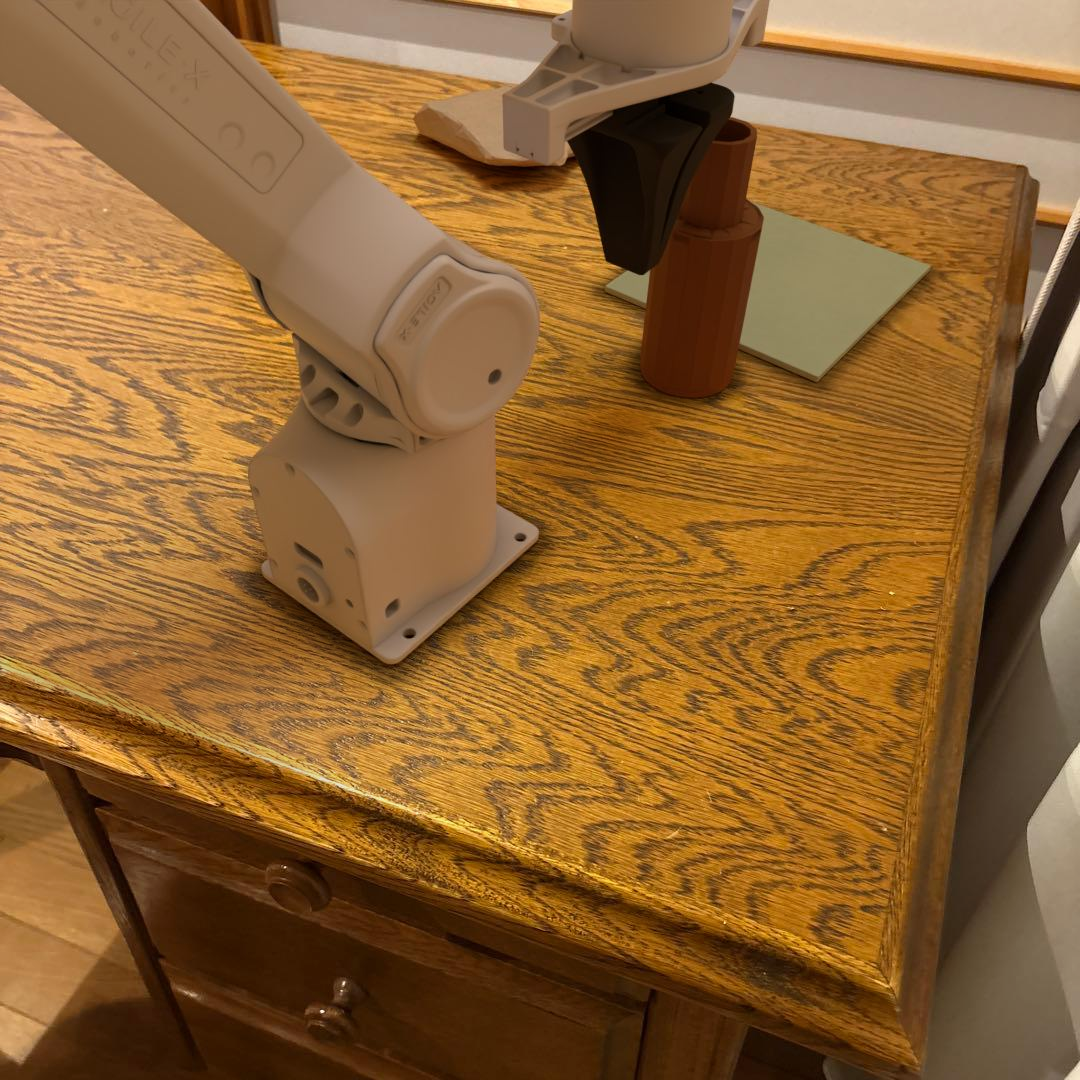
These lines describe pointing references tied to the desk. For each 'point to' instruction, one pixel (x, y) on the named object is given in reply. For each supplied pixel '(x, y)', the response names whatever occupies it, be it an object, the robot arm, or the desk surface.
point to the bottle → (705, 274)
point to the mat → (808, 293)
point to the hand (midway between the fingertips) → (631, 262)
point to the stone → (474, 127)
